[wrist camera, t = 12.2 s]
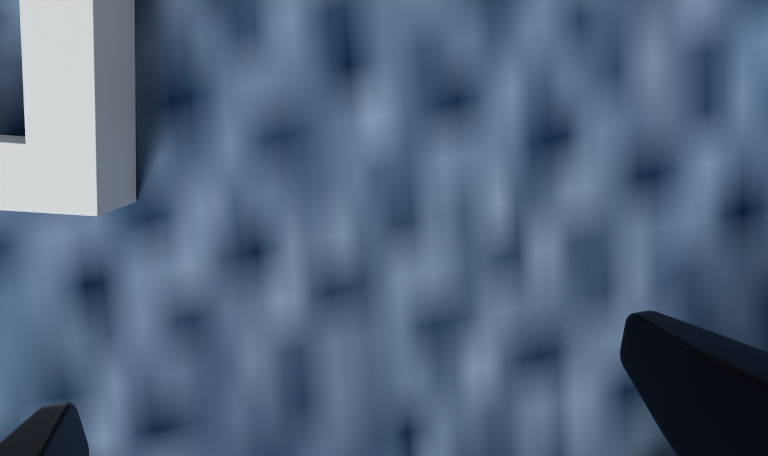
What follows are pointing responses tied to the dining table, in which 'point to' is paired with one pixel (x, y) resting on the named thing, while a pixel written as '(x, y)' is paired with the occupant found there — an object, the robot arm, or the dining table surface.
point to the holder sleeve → (74, 110)
